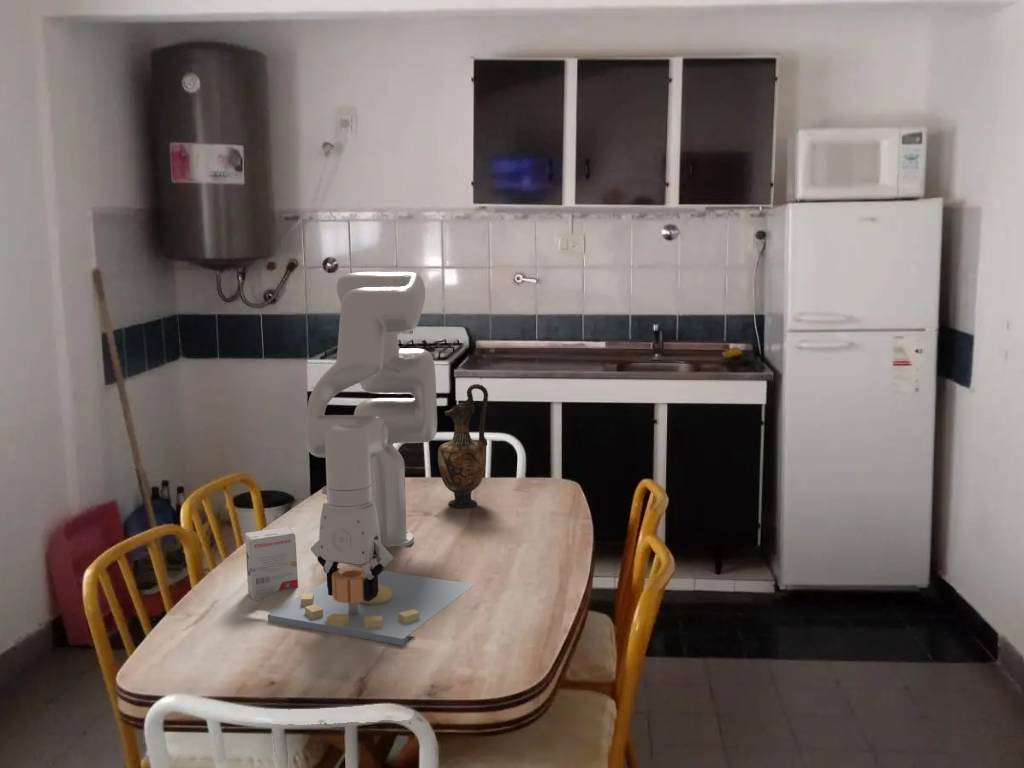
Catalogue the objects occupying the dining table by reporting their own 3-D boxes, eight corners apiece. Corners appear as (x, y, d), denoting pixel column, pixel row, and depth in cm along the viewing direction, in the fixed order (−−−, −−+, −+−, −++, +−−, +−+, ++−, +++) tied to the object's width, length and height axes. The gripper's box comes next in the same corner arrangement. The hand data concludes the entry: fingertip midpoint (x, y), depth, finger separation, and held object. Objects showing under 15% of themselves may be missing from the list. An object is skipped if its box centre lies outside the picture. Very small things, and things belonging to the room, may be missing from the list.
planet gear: (325, 599, 172) (325, 577, 172) (346, 587, 178) (346, 565, 178) (358, 604, 170) (358, 582, 169) (378, 592, 176) (378, 570, 175)
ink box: (292, 585, 192) (290, 525, 190) (299, 593, 188) (296, 532, 186) (246, 592, 188) (243, 532, 186) (252, 601, 184) (249, 539, 182)
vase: (444, 497, 252) (442, 380, 248) (493, 499, 251) (491, 380, 246) (434, 510, 241) (431, 387, 236) (485, 512, 239) (483, 388, 234)
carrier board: (267, 621, 175) (266, 595, 174) (352, 571, 199) (351, 549, 198) (403, 645, 164) (402, 618, 163) (474, 590, 188) (474, 566, 188)
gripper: (294, 496, 171) (298, 596, 174) (382, 506, 165) (384, 610, 167) (319, 486, 178) (322, 582, 181) (404, 495, 171) (407, 595, 174)
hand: (352, 595), depth 174 cm, fingers closed on planet gear, 6 cm apart
